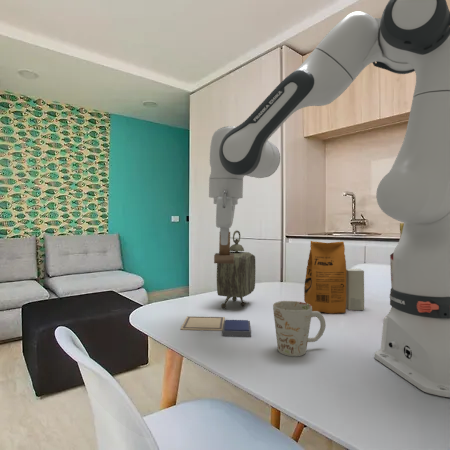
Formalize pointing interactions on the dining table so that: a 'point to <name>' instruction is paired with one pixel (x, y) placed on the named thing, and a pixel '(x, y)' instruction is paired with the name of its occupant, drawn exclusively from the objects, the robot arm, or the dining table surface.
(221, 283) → the tabletop clock
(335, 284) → the coffee package
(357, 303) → the box
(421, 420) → the dining table surface
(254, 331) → the dining table surface
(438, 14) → the robot arm
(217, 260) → the stamp
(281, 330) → the mug
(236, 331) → the ink pad
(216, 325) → the card
